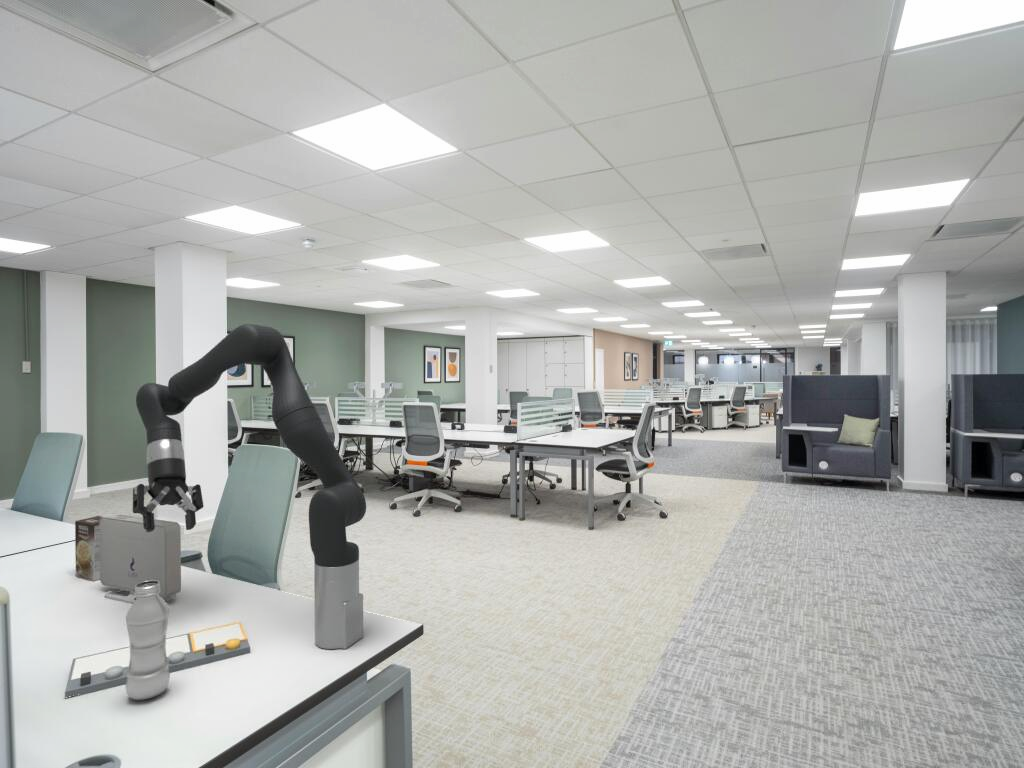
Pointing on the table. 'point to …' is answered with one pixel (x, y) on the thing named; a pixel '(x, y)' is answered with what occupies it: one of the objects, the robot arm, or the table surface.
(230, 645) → the board
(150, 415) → the robot arm
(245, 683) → the table surface
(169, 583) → the network device
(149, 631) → the plastic bottle
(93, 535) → the coffee box
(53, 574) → the table surface
